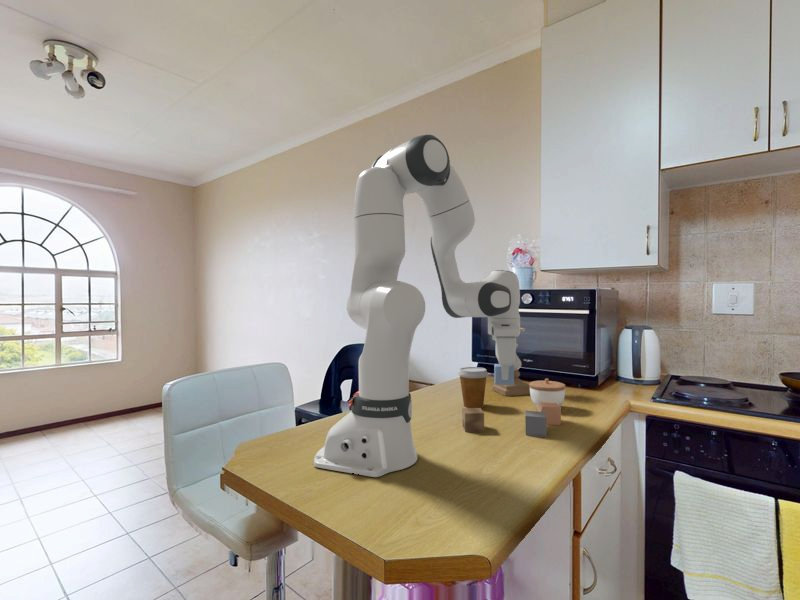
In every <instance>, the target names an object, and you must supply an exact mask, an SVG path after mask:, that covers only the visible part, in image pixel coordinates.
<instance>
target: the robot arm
mask: <svg viewBox="0 0 800 600" xmlns="http://www.w3.org/2000/svg"><path fill="white" fill-rule="evenodd" d="M450 161H451V160H450V155H449V152H448V150H447V147H446V146H445V144H444V143H443V142H442V141H441V140H440V139H439V138H438V137H436V136H435V135H432V134H421V135H418V136H415V137H412V139H410V140H408V141H405V142H403V143H400V144H399V145H395V146H394V147H392V148H391V149H389V150H388V151H386V152H385V153H384V154H382V155H380V156H378V157H377V159H376V160H374V162H372V165H371V166H370V168H367V169H365V170H363V171H362V172H361V173H360V174H359V176H357V180H356V184H355V191H354V204H353V205H354V206H353V222H354V223H353V224H354V225H353V226H354V263H353V271H352V272H353V273H352V277H351V278H352V279H351V284H350V285H351V286H350V293H349V296H348V298H347V301H346V311H347V314H348V316H349V318H350V320H352V322H354V323H355V324H356V325H357V326H359V327H360V328H362V329H364V330H366V335H365V339H364V344H363V349H362V353H361V354H360V356H359V358H358V391H356V392H355V393H354V394H353V395H352V396H353V397H351V398H350V400H349V401H348V403H349V404H348V407H349V408H350V410H351V411H350V412H348V413H347V414H346V415H344V417H342V418H340V420H339V421H338V422H336V423H335V424H334V425H333V426H331V428H330V429H329V430H328V432H327V434H326V438H325V442H324V446H322V447H321V448H320V449H319V450H318V451H317V452H316V454H315V455H314V457H313V458H314V459H313V465H314V467H315V468H318V469H319V468H320V469H324V470H325V469H326V470H331V471H337V472H341V473H342V472H343V473H347V474H352V473H354V474H353V475H358V474H359V475H360V476H365V477H370V478H371V477H372V478H379V477H382V476H384V475H387V474H389V473H392V472H397V471H400V470H401V471H402V470H404V469H407V468H409V467H411V466H412V465H414V464H416V462H417V460H418V454H417V451H416V450H417V449H416V448H415V447H416V446H415V443H414V442H415V441H414V437H413V432H412V431H413V430H412V425H411V420H412V418H413V415H412V414H413V406H412V405H413V403H412V402H413V401H412V395H411V393H410V387H409V386H410V367H409V364H410V354H411V350H412V349H411V348H412V346H413V345H412V343H413V342H414V336H415V332H416V331H417V328H418V326H419V325H420V324H421V323H422V321H423V319H424V317H425V313H426V302H425V298H424V296H423V293H422V292H421V291H420V290H419V289H418V287H416V286H415V285H413V284H411V283H407V282H405V281H400V280H398V276H399V271H400V267H401V264H402V262H403V259H404V258H405V255H406V233H405V231H406V229H405V226H406V225H405V207H404V198H405V196H406V195H410V194H414V193H416V194H417V195H418V196H419V197H420V198H421V199H422V202H423V205H424V209H425V212H426V214H427V218H428V220H429V224H430V227H431V237H430V248H431V249H430V250H431V254H432V259H433V262H434V266H435V269H436V273H437V277H438V282H439V285H440V291H441V301H442V306H443V309H444V311H445V312H446V313H447V314H448V316H450V317H451V318H454V319H458V318H459V319H460V318H461V319H462V318H487V334H488V335H491V337H492V338H491V339H492V340H493V341H494V342H495V357H496V359H497V361H498V364H500V365H501V378H502V379H503V380H508V373H509V366H513V364H514V360H515V350H516V351H517V349H516V343H517V338H518V337H519V336H520V335H521V332H520V328H521V315H520V312H519V309H520V308H519V307H520V304H521V289H520V283H519V278H518V275H517V274H516V273H515V272H513V271H511V270H504V269H503V270H502V269H496V270H493V271H491V272H490V274H489V275H488V276H487V277H485V278H484V279H481V280H480V281H475V282H465V281H463V280H462V278H461V276H460V273H459V268H458V263H457V260H456V249H457V246H459V245H460V243H462V242H463V241H464V240H465V239H467V237H469V235H470V234H471V232H472V231H473V228H474V226H475V221H476V219H475V213H474V212H475V211H474V208H473V206H472V203H471V201H470V198H469V194H468V192H467V190H466V188H465V186H464V183H463V182H462V179H461V178H460V176H459V174H458V172H457V171H456V169H455V167H454V166H453V165H451V162H450Z"/></svg>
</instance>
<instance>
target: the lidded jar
mask: <svg viewBox="0 0 800 600" xmlns="http://www.w3.org/2000/svg"><path fill="white" fill-rule="evenodd" d="M528 385H529V387H530V400H531V402H532V404H534V406H536V408H537V409H538V405H537V402H556V403H557V404H558V405H559V406H560V407H561V406H562V405H563V403H564V402H565V399H566V398H565V396H566V384H565V383H563V382H559V381H556V380H555V381H553V380H549V378H544V380H533V381H531V382H529V383H528Z"/></svg>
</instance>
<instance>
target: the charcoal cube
mask: <svg viewBox="0 0 800 600" xmlns="http://www.w3.org/2000/svg"><path fill="white" fill-rule="evenodd" d="M524 414H525V416H524V419H525V436H529V437H530V436H531V437H541V438H547V437H548V435H547V431H548V430H547V425H546V412H538V410H537V411H535V410H525V413H524Z"/></svg>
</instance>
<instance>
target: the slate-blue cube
mask: <svg viewBox="0 0 800 600" xmlns="http://www.w3.org/2000/svg"><path fill="white" fill-rule="evenodd" d="M493 367H494V371H493V373H494V375H493V376H494V384H495V385H514V366H509V373H508V380H503V379H502V378H501V365H500V364H499V363H494V365H493Z"/></svg>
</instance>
